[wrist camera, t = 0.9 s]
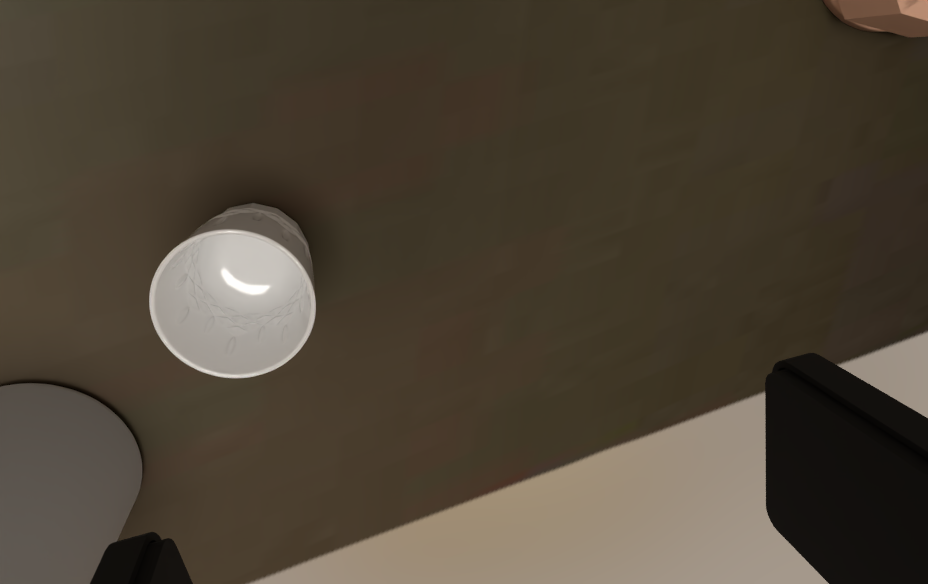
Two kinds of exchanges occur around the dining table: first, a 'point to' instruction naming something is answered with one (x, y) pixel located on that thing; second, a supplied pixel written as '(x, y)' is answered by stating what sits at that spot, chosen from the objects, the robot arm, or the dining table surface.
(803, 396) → the robot arm
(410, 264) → the dining table surface
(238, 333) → the white cup
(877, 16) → the bowl
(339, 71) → the dining table surface
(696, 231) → the dining table surface
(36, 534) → the cylinder vase
